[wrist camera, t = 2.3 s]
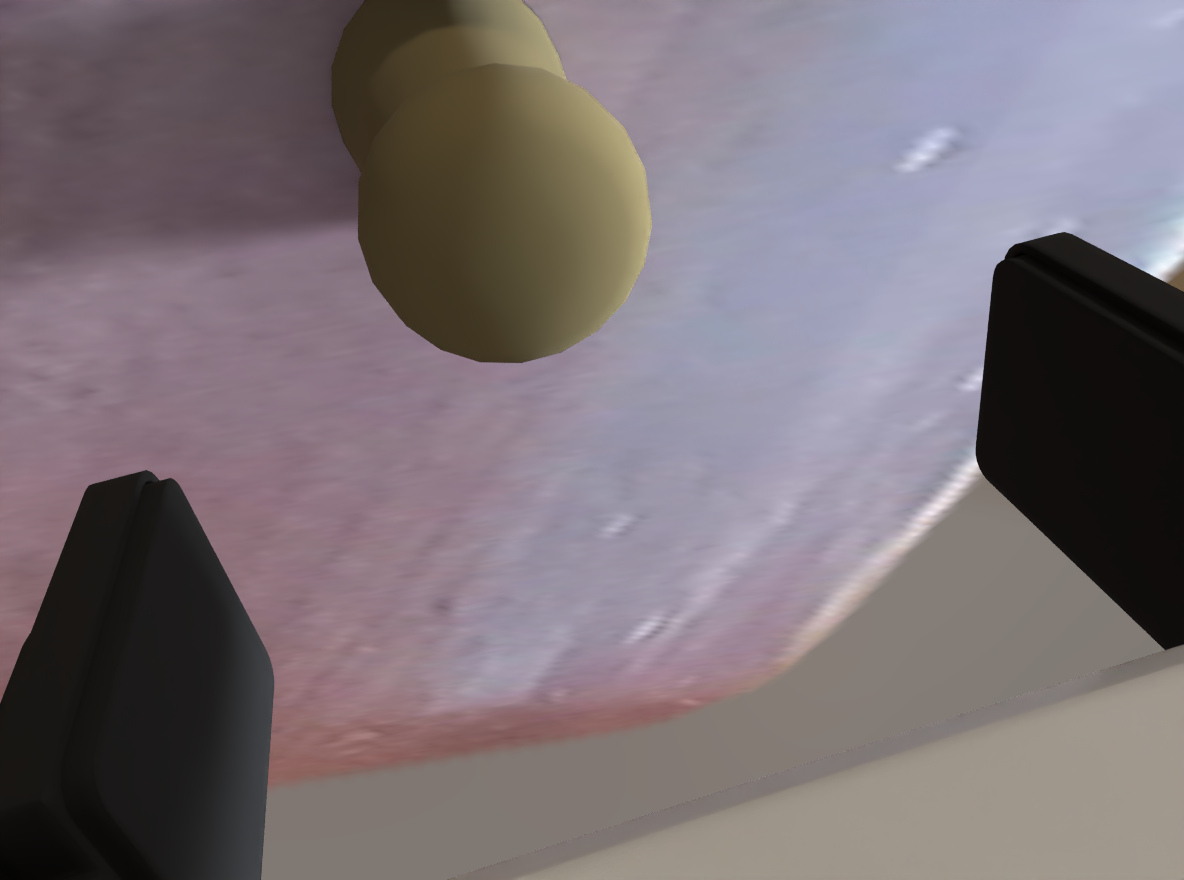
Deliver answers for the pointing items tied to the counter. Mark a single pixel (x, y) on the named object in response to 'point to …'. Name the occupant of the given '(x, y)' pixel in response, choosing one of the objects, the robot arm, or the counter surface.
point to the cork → (486, 178)
